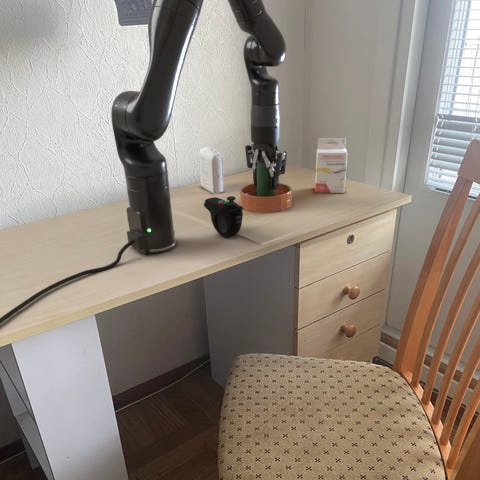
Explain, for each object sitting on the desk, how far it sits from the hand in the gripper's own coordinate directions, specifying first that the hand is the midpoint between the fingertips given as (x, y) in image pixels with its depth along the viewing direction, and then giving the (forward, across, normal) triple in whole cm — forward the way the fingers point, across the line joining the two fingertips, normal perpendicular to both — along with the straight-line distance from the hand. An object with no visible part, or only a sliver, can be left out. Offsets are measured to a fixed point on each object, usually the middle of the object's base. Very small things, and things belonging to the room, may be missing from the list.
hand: (265, 187), depth 141 cm
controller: (+5, +9, -22) cm, 24 cm away
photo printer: (+5, -23, -1) cm, 24 cm away
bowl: (+5, 0, 0) cm, 5 cm away
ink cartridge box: (+5, +4, +22) cm, 23 cm away
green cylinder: (+5, 0, 0) cm, 5 cm away
